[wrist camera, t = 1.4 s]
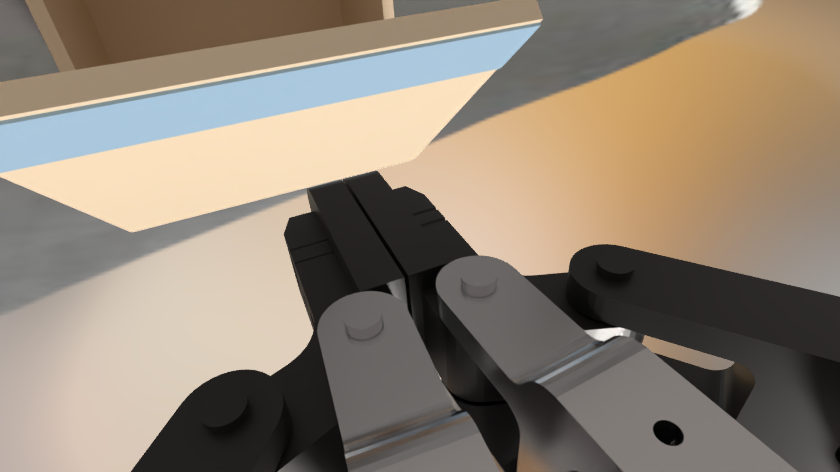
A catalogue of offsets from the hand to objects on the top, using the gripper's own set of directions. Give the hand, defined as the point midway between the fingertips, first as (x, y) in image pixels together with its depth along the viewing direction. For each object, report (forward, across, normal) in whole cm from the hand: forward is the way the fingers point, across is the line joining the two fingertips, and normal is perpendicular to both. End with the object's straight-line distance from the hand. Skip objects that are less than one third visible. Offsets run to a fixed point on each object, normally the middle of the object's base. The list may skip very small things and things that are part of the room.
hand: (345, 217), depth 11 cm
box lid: (+11, 0, +2) cm, 12 cm away
